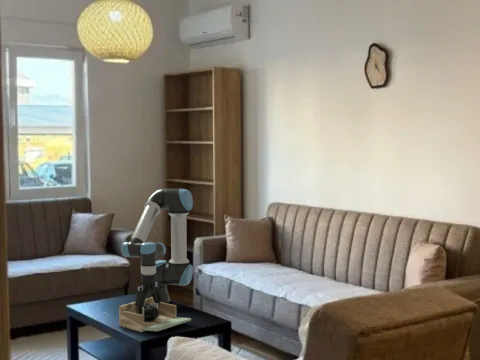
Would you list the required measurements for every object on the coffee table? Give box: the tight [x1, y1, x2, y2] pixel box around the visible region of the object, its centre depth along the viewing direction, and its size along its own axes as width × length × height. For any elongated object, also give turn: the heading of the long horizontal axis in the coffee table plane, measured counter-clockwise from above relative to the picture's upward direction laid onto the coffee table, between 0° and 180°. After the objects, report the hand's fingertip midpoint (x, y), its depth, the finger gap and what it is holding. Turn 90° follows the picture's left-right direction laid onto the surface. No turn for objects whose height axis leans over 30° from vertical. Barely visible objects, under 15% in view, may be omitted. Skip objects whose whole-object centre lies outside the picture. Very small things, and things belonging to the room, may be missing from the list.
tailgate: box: [143, 316, 192, 332], centre depth 321 cm, size 24×1×10 cm
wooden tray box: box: [118, 297, 177, 333], centre depth 329 cm, size 24×16×10 cm
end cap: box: [143, 303, 159, 322], centre depth 329 cm, size 10×7×7 cm
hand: (148, 317), depth 329 cm, fingers closed on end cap, 9 cm apart
